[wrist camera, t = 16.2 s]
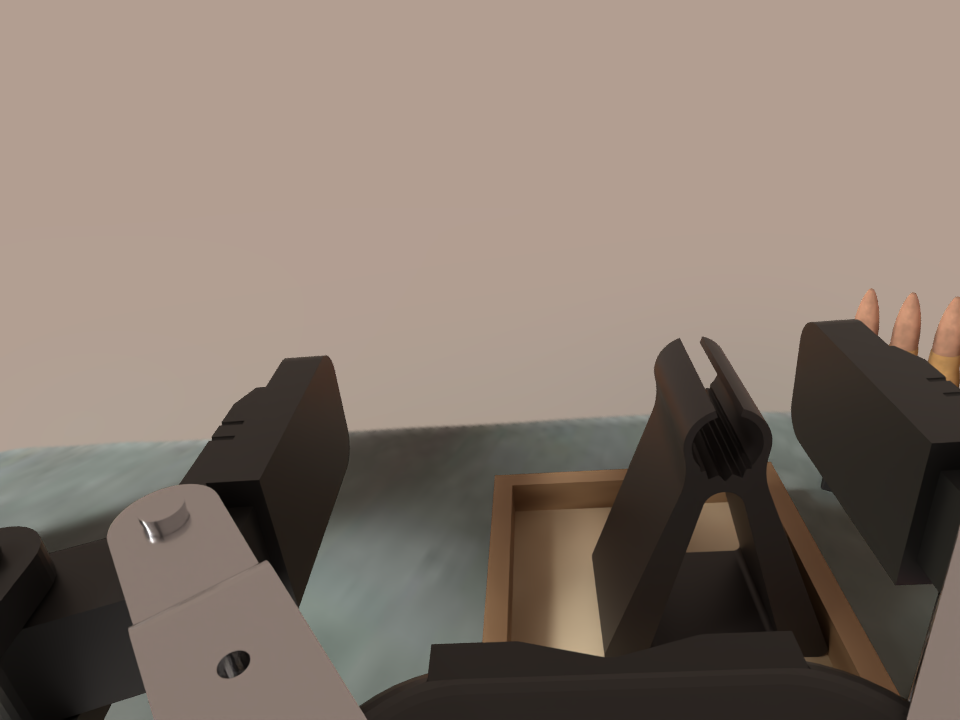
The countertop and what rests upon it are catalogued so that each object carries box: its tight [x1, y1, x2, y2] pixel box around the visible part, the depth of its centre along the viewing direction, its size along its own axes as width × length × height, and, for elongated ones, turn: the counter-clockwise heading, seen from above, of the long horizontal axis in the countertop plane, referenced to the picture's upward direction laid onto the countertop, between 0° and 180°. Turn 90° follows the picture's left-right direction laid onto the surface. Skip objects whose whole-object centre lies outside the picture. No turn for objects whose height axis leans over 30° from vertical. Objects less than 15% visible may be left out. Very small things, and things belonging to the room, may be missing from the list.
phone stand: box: [592, 337, 828, 657], centre depth 28 cm, size 9×6×12 cm, turn 86°
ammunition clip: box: [821, 289, 960, 492], centre depth 34 cm, size 11×2×12 cm, turn 56°
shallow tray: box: [482, 462, 900, 696], centre depth 31 cm, size 15×15×3 cm
